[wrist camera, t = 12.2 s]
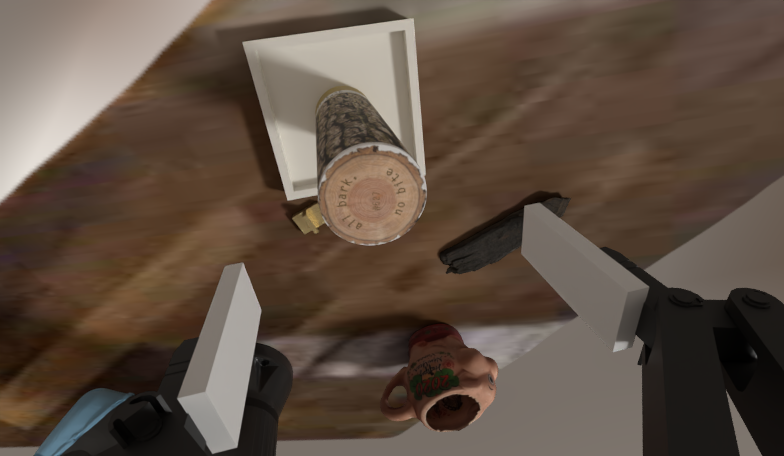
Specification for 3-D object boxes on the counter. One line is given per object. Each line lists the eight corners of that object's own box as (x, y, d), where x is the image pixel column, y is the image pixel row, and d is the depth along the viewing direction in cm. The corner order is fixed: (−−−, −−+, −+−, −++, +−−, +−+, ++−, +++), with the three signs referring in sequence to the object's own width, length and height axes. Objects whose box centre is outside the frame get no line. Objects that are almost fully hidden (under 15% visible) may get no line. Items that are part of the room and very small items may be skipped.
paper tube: (317, 143, 45) (321, 249, 24) (312, 84, 42) (313, 146, 21) (372, 141, 47) (423, 241, 25) (371, 84, 43) (430, 141, 22)
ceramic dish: (288, 192, 49) (287, 200, 47) (246, 41, 40) (242, 41, 38) (420, 168, 51) (425, 175, 48) (408, 18, 42) (413, 18, 40)
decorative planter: (386, 386, 71) (402, 460, 59) (361, 346, 64) (372, 420, 52) (483, 345, 70) (518, 411, 58) (466, 301, 64) (502, 364, 52)
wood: (452, 283, 62) (458, 295, 60) (434, 253, 58) (440, 264, 56) (571, 218, 60) (583, 227, 58) (560, 182, 57) (573, 190, 54)
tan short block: (304, 230, 52) (304, 240, 50) (292, 214, 51) (291, 223, 48) (329, 216, 52) (329, 225, 49) (317, 199, 50) (317, 208, 48)
